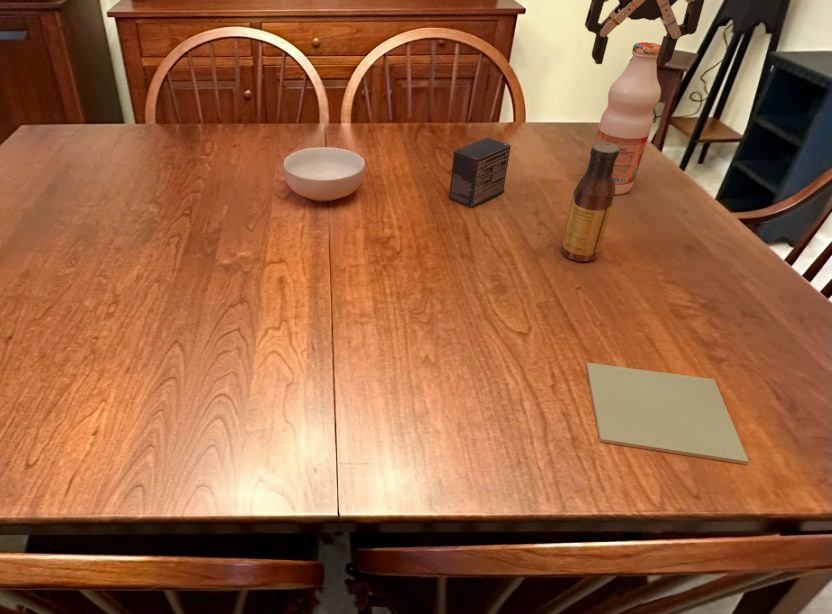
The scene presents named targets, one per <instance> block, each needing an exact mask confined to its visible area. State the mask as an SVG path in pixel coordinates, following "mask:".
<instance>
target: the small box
mask: <svg viewBox="0 0 832 614" xmlns="http://www.w3.org/2000/svg"><path fill="white" fill-rule="evenodd" d="M511 147H512V145H511V144H509V143H506V142H502V141H499V140H496V139H493V138H491V137H485V138H482V139H479V140H477V141H475V142H473V143H470V144H468V145H465V146H462V147H460V148H457V149H455V150H453V158H452V166H451V175H450V185H449V186H450V187H449V194H448V199H449V200H451V201H454V202H456V203H458V204H460V205H463V206H465V207H468V208H470V209H472V208H475V207H477V206H479V205H481V204H483V203H485V202H488V201H489V200H491V199H493V198H496V197H498V196H500V195H502V194H504V190H505V183H506V177H507V171H508V166H509V165H508V164H509V160H510V159H509V158H510V152H511Z"/></svg>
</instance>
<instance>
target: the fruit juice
mask: <svg viewBox="0 0 832 614" xmlns="http://www.w3.org/2000/svg"><path fill="white" fill-rule="evenodd" d="M660 47H661V44H660V43H655V42H649V41H647V42H645V41H644V42H643V41H642V42H636V43H634V45H633V47H632V50H631V54H632V56H631V59H630V60H629V63H628V64H627V66H626V67H625V69H624V70H623V72H622V73H621V74H620V76H618V78H617V79H616V80H615V81H614V82H613V83H612V84H611V85H610V88H609V89H608V94H607V107H606V109H605V110H604V112H603V113H602V115H601V118H600V120H599V124H598V128H597V132H596V135H595V139H594V143H593V145H594V144H595V143H600V142H602V143H604V142H605V143H612V144H615V145H617V146H618V147H619V148H620V150H619V155H618V157H617V158H616V160H615V164H614V168H613V173H612V178H613V180H614V183H615V194H614V196H616V195H617V196H618V195H623V194H627V193H629V192H630V191H631V189H632V188H633V185H634V183H635V179H636V177H637V173H638V170H639V167H640V164H641V161H642V158H643V156H644V155H643V154H644V151H645V149H646V145H647V143H648V139H649V137H650V133H651V130H652V127H653V126H652V125H653V121H654V117H653V112H654V110H655V108H656V107H657V105H658V103H659V102H660V100H661V95H662V88H661V85H660V83H659V80H658V70H657V69H658V65H657V64H656V60H657V57H658V53H659V50H660ZM590 158H591V156H590ZM590 158H589V159H590ZM588 166H589V164H588V165H587V167H588Z"/></svg>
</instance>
